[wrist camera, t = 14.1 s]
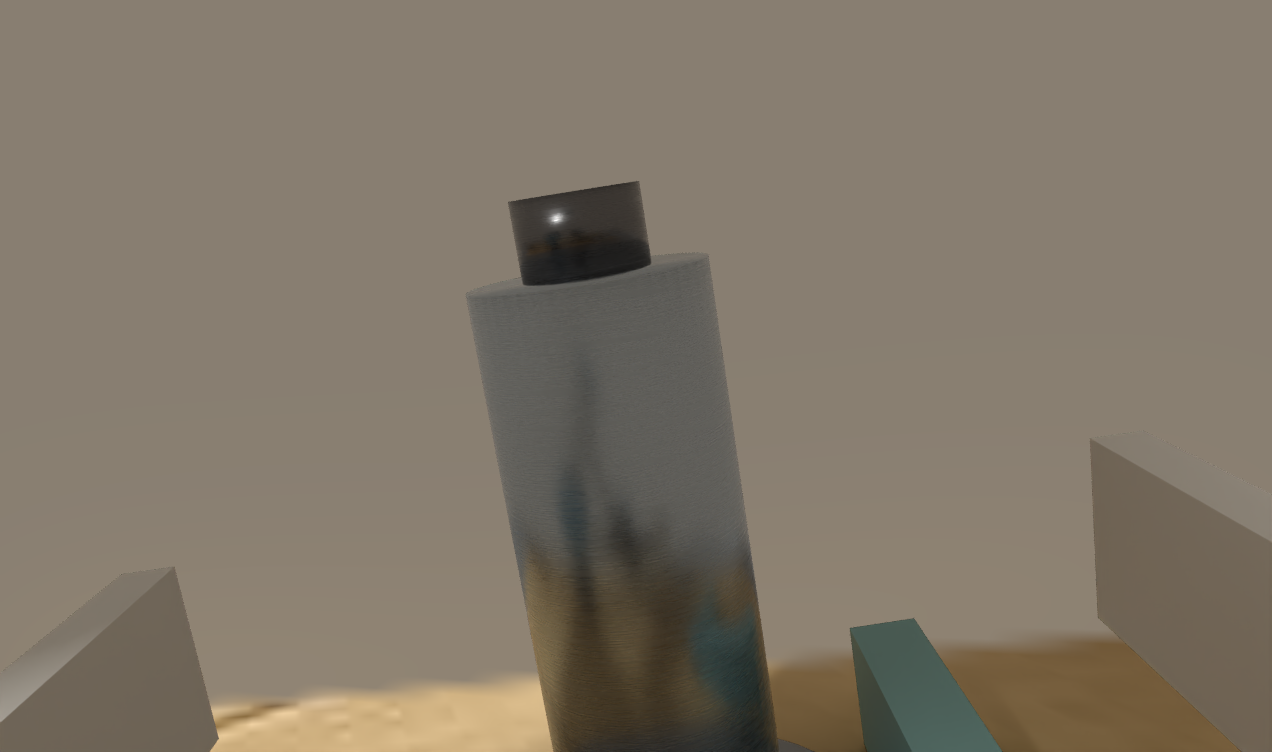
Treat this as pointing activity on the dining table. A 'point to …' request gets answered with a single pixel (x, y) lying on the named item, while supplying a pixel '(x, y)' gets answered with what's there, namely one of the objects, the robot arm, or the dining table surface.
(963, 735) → the bent rail
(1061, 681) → the dining table surface
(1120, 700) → the dining table surface
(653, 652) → the bottle
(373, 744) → the dining table surface
